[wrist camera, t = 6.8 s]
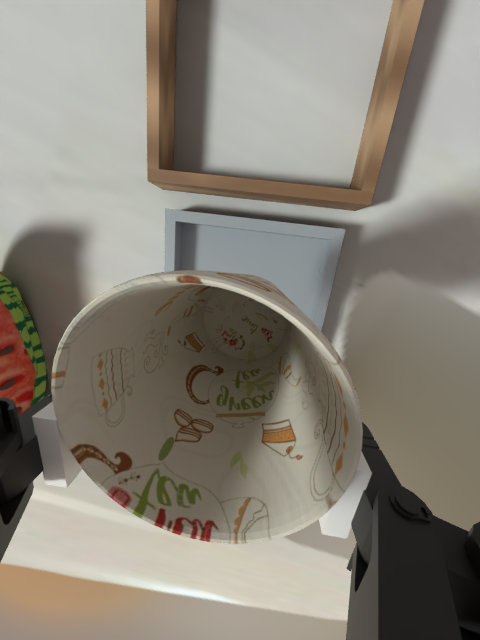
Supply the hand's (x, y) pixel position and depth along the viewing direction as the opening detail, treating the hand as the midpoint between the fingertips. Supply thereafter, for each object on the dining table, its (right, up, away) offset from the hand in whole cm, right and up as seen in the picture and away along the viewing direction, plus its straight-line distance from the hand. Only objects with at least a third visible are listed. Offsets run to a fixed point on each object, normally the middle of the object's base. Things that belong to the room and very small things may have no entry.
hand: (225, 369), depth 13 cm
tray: (+1, +5, +14) cm, 15 cm away
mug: (0, +1, +3) cm, 3 cm away
